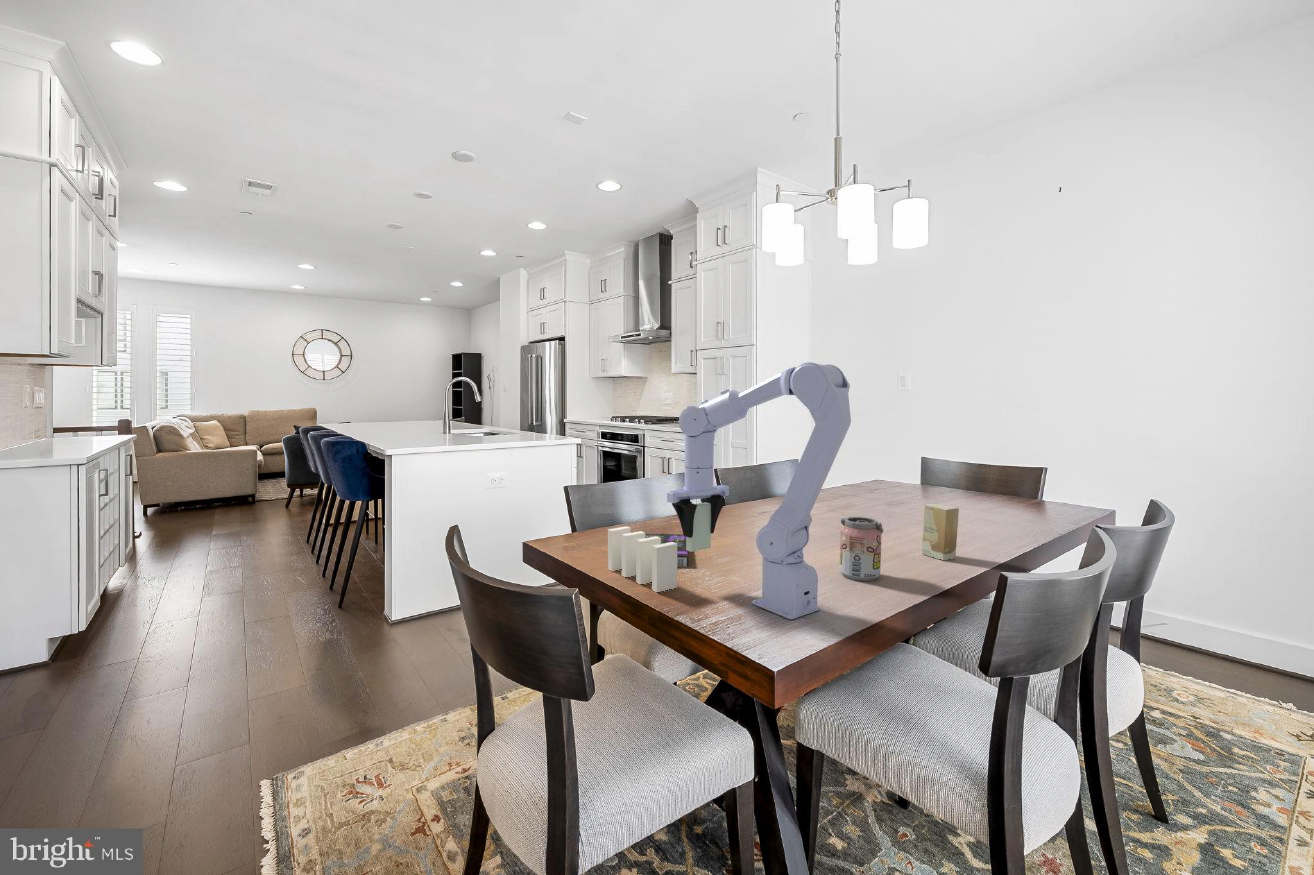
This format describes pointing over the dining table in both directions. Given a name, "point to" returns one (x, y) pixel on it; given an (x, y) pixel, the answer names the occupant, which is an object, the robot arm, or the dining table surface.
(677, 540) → the box
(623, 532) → the domino
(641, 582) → the domino
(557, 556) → the dining table surface
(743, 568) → the dining table surface
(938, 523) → the skincare box
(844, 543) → the paint can
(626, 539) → the domino
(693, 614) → the dining table surface
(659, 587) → the domino
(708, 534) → the sage domino
